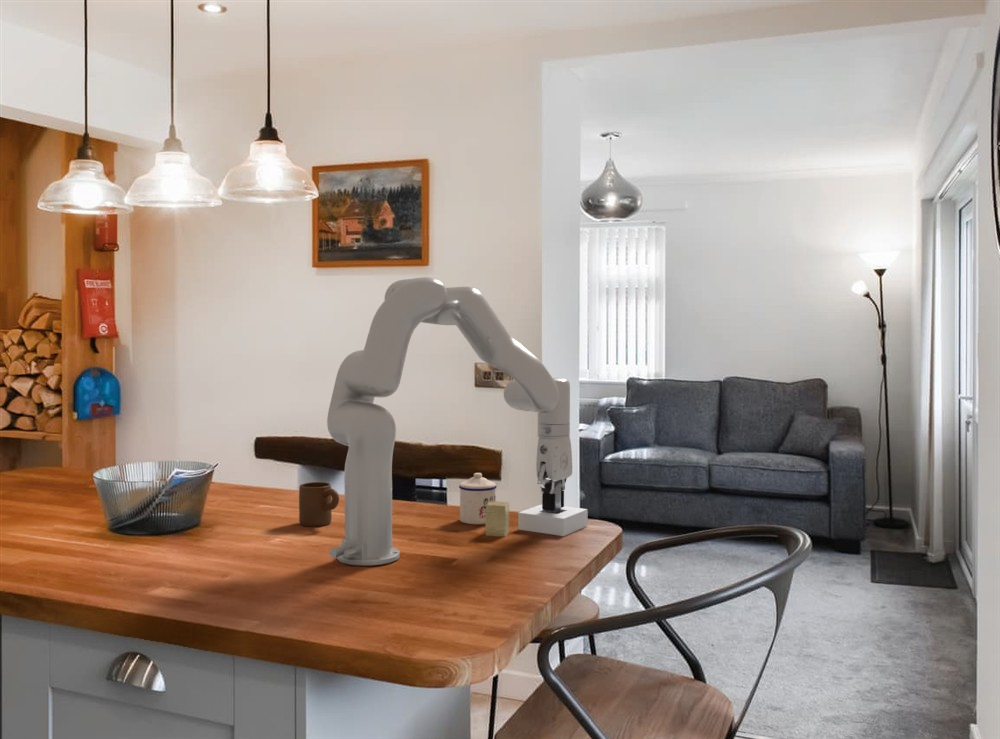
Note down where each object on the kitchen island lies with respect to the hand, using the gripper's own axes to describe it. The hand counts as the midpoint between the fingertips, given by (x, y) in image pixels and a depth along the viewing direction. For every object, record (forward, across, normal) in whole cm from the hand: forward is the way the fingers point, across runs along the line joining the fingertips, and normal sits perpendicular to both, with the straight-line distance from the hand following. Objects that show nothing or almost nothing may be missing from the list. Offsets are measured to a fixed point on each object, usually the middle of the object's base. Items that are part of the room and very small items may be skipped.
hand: (553, 507), depth 204 cm
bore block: (+5, 0, 0) cm, 5 cm away
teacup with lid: (+5, -2, +19) cm, 20 cm away
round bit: (+2, 0, 0) cm, 2 cm away
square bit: (+5, -12, +8) cm, 15 cm away
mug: (+5, -27, +48) cm, 55 cm away
